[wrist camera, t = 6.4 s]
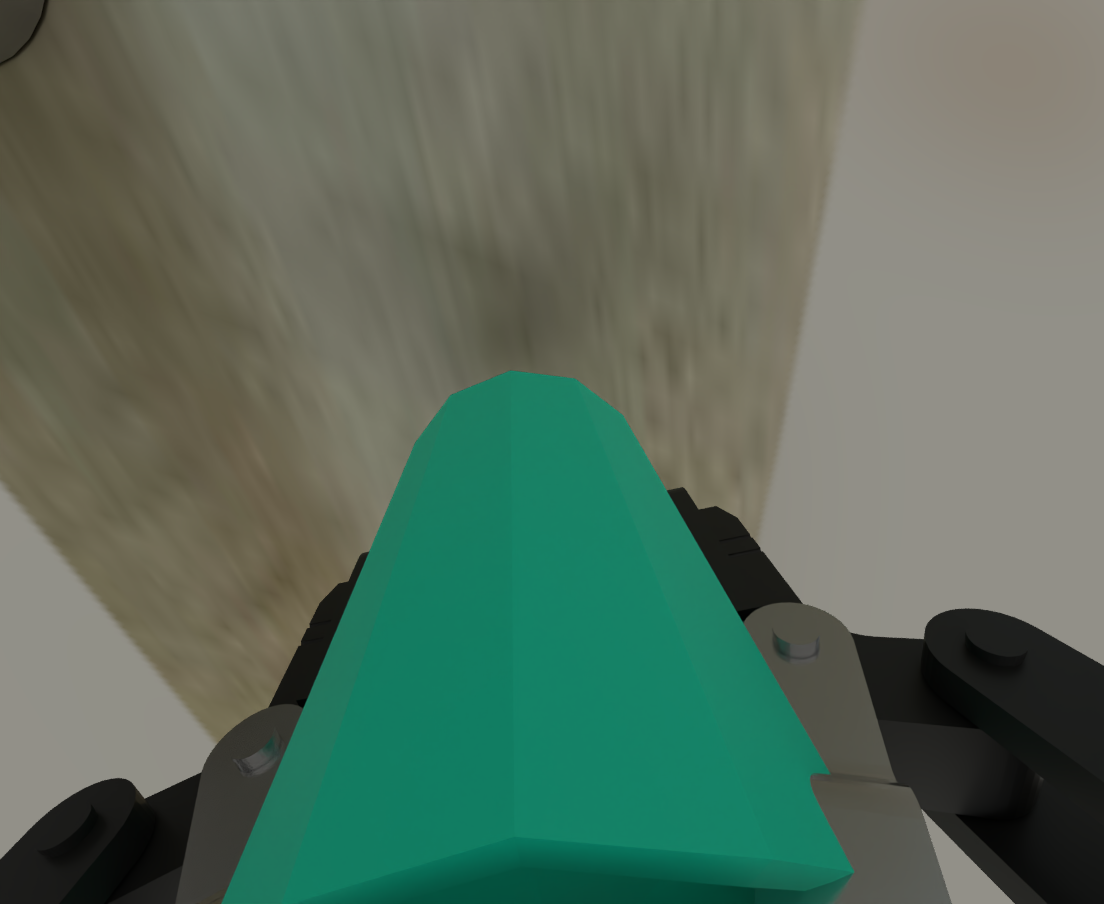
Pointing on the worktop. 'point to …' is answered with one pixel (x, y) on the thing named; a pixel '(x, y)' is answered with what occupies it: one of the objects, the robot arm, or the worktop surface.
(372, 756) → the candle
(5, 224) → the worktop surface
